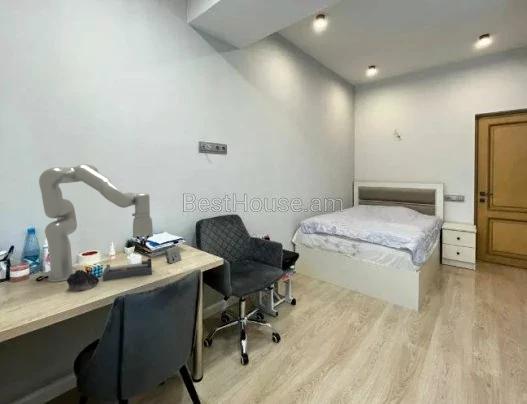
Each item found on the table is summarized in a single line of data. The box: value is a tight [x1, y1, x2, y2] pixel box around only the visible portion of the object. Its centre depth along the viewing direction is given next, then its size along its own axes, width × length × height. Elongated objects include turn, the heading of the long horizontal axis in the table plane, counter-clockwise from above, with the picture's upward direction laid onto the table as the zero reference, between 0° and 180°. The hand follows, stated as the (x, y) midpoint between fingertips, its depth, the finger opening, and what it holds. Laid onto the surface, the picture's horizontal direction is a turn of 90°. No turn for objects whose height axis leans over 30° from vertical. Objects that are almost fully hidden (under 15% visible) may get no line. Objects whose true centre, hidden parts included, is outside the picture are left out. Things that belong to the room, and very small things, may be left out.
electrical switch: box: [164, 245, 182, 264], centre depth 174 cm, size 9×5×9 cm, turn 152°
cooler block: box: [102, 258, 153, 282], centre depth 151 cm, size 24×9×7 cm, turn 114°
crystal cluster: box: [66, 269, 100, 292], centre depth 136 cm, size 13×14×10 cm
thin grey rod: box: [109, 260, 148, 270], centre depth 151 cm, size 22×3×2 cm, turn 114°
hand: (143, 247), depth 153 cm, fingers closed
